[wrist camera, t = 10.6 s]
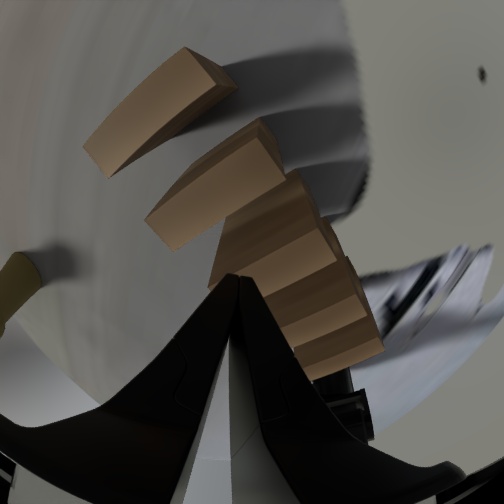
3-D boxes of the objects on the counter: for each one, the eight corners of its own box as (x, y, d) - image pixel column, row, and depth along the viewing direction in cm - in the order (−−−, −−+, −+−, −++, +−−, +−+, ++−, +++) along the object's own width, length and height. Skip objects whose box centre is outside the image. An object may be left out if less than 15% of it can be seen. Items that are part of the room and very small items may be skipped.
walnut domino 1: (238, 88, 16) (216, 84, 8) (170, 138, 18) (108, 178, 10) (221, 66, 15) (184, 46, 7) (154, 118, 17) (82, 146, 9)
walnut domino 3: (309, 190, 20) (337, 260, 12) (243, 229, 22) (232, 312, 14) (295, 168, 19) (317, 227, 11) (228, 210, 21) (207, 287, 13)
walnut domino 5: (355, 270, 24) (385, 350, 16) (299, 299, 26) (308, 381, 18) (347, 255, 23) (378, 336, 15) (288, 286, 25) (295, 370, 17)
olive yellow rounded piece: (13, 243, 24) (-39, 300, 14) (45, 273, 26) (-3, 338, 17) (9, 269, 26) (-34, 323, 17) (38, 296, 28) (-1, 355, 19)
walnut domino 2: (276, 139, 18) (286, 179, 10) (207, 185, 20) (173, 252, 12) (259, 116, 17) (256, 137, 9) (191, 164, 19) (143, 220, 11)
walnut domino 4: (336, 234, 22) (367, 315, 14) (274, 267, 24) (276, 353, 16) (325, 215, 21) (355, 293, 13) (260, 251, 23) (258, 337, 15)
